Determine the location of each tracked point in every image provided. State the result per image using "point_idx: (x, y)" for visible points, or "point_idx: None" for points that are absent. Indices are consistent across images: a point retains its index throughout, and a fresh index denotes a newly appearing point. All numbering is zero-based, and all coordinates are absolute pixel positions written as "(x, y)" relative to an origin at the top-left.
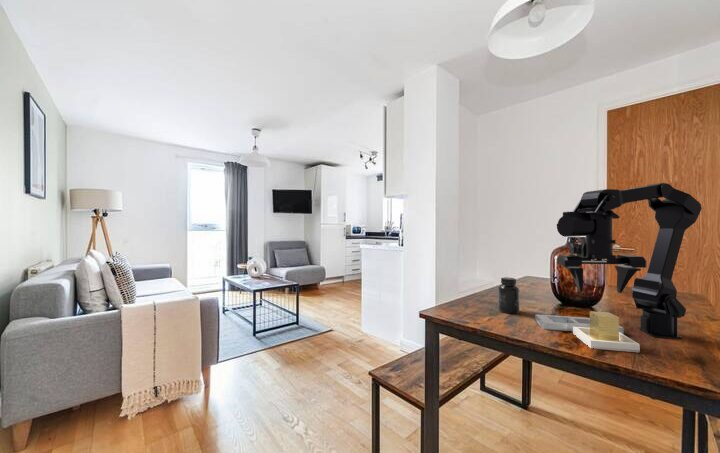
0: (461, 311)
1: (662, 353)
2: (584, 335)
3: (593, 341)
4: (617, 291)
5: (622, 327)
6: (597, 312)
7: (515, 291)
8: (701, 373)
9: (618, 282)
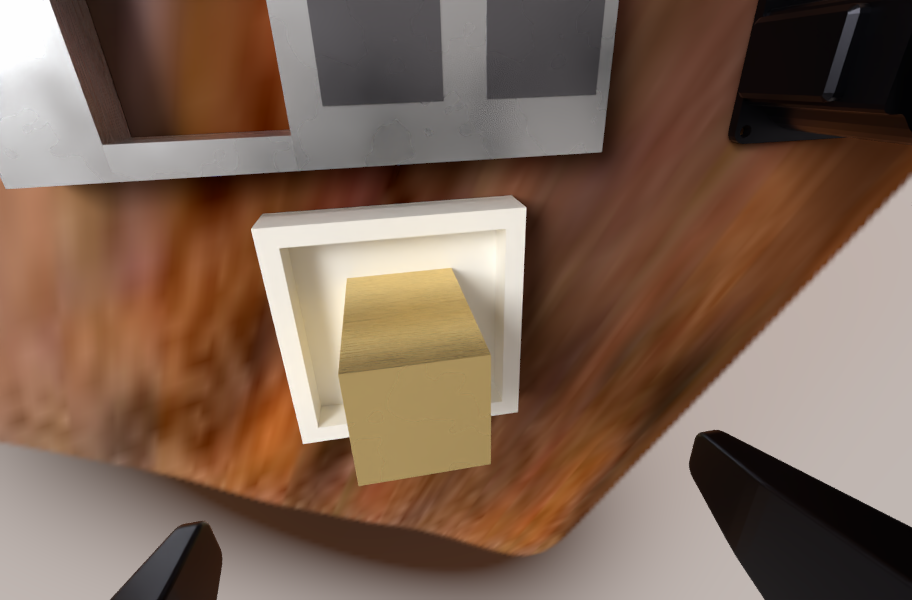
0: None
1: (595, 363)
2: (289, 382)
3: (316, 437)
4: (701, 438)
5: (602, 140)
6: (393, 389)
7: None
8: (593, 483)
9: (829, 570)
